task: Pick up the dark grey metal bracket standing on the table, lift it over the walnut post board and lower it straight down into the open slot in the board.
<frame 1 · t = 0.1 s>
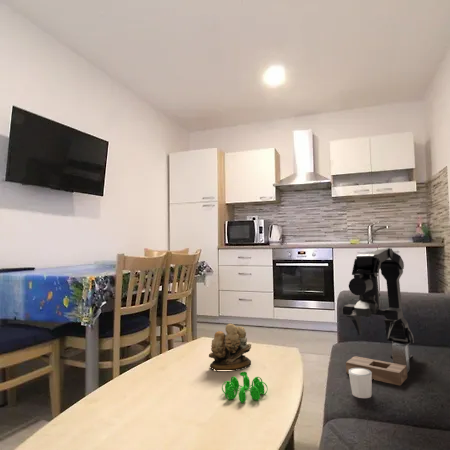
hand: (373, 336, 117), 15 cm above the table, tool pointing down, fingers open, 9 cm apart
post board: (376, 375, 121), on the table
shot glass: (361, 394, 107), on the table
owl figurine: (231, 366, 139), on the table
chandelier: (244, 395, 112), on the table
bracket: (401, 370, 124), on the table
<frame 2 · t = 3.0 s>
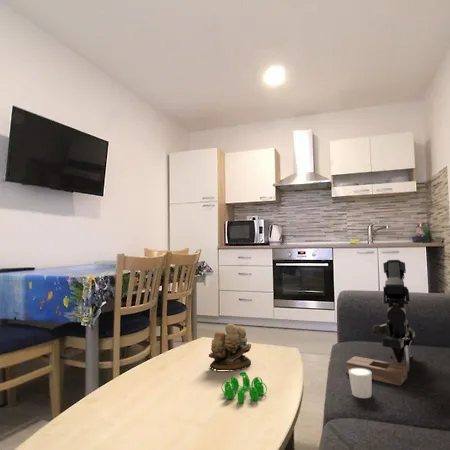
hand: (400, 361, 124), 3 cm above the table, tool pointing down, fingers closed on bracket, 3 cm apart
bracket: (401, 369, 124), on the table, touching gripper
everything else where it was.
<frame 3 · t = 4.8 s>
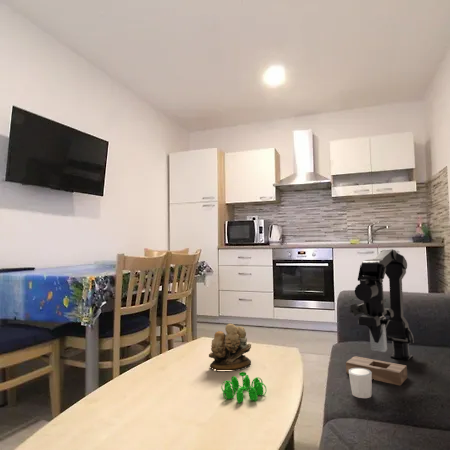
hand: (378, 341, 120), 12 cm above the table, tool pointing down, fingers closed on bracket, 3 cm apart
bracket: (379, 350, 120), point 9 cm above the table, touching gripper
everything else where it was.
when the fingers open (4 cm above the table, at t = 7.1 s): bracket drops 1 cm, resting in post board.
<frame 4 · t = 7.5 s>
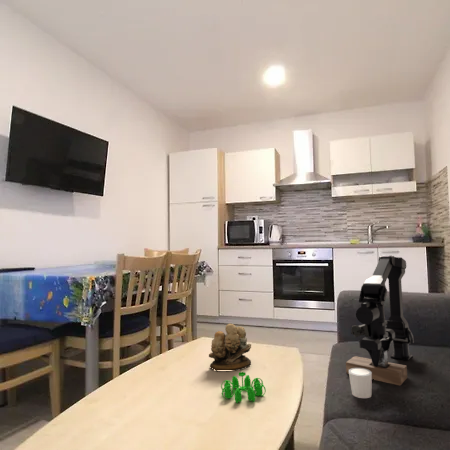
hand: (379, 363, 120), 4 cm above the table, tool pointing down, fingers open, 7 cm apart
bracket: (380, 376, 120), resting in post board
everything else where it was.
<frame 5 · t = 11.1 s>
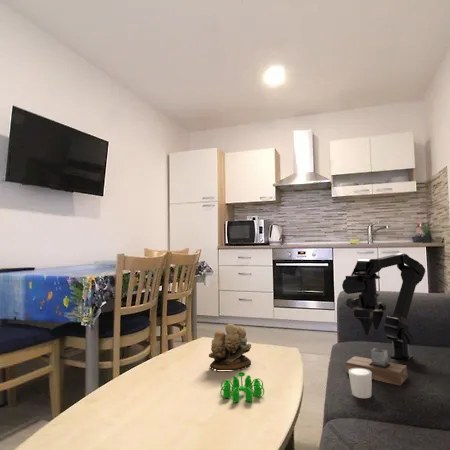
hand: (371, 332, 132), 12 cm above the table, tool pointing down, fingers open, 9 cm apart
at the end: bracket 0.1 cm from the target spot on the post board, point 0.0 cm above the post board's base; bracket tilted 0°; the gripper is holding nothing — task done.
